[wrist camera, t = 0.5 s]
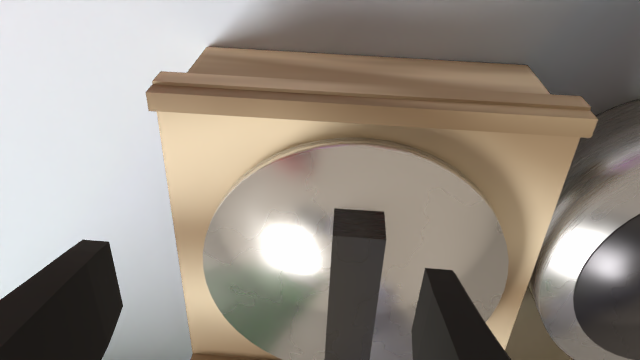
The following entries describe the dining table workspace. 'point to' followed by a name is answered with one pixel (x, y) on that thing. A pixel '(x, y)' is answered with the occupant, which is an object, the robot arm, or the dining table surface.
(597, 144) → the cooker
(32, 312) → the robot arm
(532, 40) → the dining table surface
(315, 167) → the lid
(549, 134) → the lid rest
